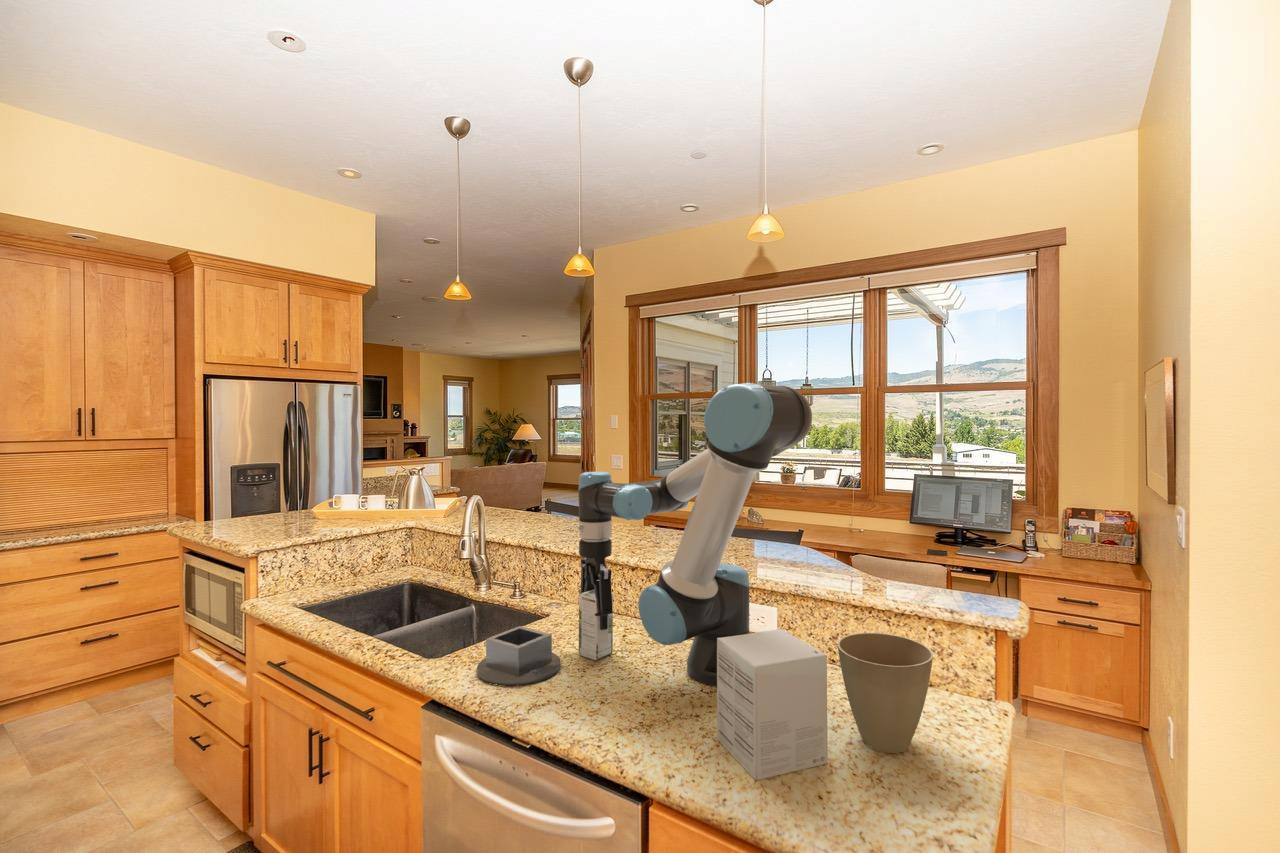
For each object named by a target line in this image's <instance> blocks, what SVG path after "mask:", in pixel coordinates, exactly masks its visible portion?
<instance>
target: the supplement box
mask: <svg viewBox="0 0 1280 853" xmlns="http://www.w3.org/2000/svg"><path fill="white" fill-rule="evenodd" d="M716 724H717V725H716V726H717V727H716V734H717V735H716V736H717V737H716V739H717V741H718V742H719V743H721V745H722V747H724V748H725V749H726V750H727V752H728V753H729V754H730V755H731V756H732V757H733V758H734V759H735V760H736V761H737V763H739V764H740V765H741V767H742V769H743V768H744V770H745V771H746V772H747V773H748V774H749V775H750V776H751V777H752V779H754V780H755V781H759V780H763V779H768V778H772V777H776V776H781V775H784V774H788V773H793V772H797V771H802V770H805V769H809V768H813V767H818V766H822V765H823V766H824V765H826V764H828V756H829V755H828V752H829V750H828V655H827V654H826V653H824V651H821V650H820V649H817V648H816V647H814V646H812V645H810V644H809V643H807V642H805V641H804V640H802V639H800V638H798V637H796V636H794V635H793V634H791V633H789V632H787V631H786V630H784V629H783V628H778V629H772V630H763V631H759V632H752V633H749V634H744V635H737V636H730V637H722V638H717V686H716Z"/></svg>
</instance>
